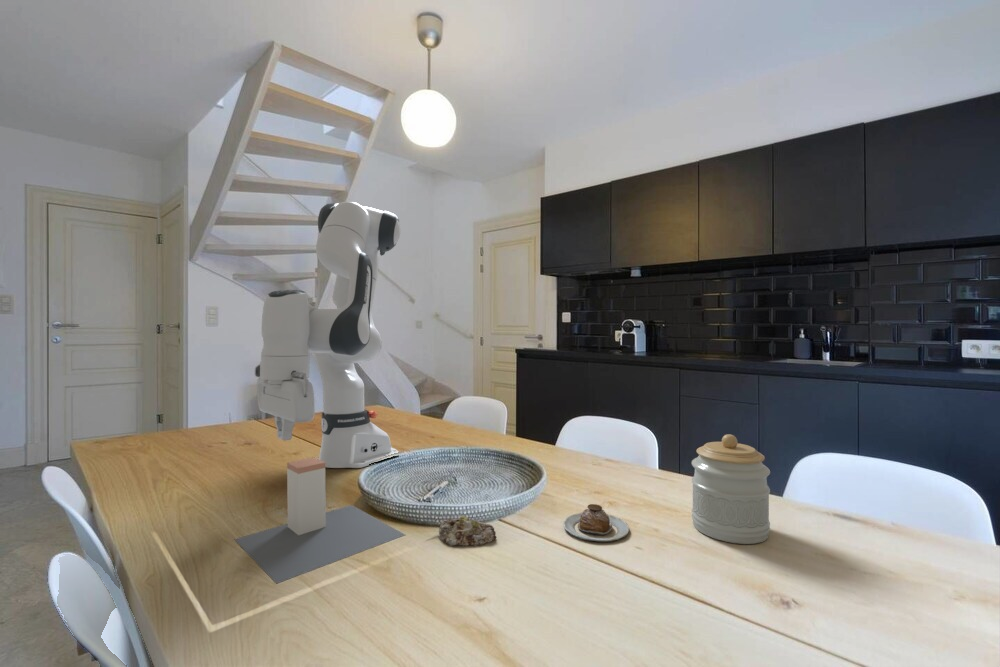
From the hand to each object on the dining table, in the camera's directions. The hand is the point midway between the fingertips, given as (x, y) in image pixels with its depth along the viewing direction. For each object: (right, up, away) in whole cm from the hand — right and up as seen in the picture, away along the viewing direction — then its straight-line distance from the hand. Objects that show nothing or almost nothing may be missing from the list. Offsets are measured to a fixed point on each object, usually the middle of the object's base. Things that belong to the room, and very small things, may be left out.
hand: (284, 439), depth 92 cm
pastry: (+61, -16, -6) cm, 63 cm away
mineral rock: (+37, -16, -9) cm, 42 cm away
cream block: (+7, -15, -6) cm, 18 cm away
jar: (+86, -15, -7) cm, 87 cm away
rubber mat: (+11, -15, -11) cm, 22 cm away
